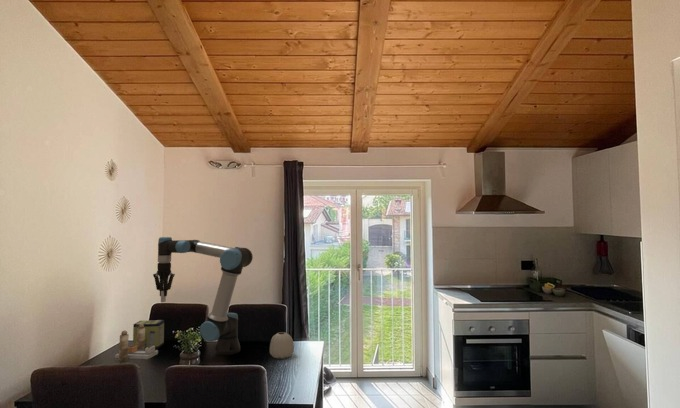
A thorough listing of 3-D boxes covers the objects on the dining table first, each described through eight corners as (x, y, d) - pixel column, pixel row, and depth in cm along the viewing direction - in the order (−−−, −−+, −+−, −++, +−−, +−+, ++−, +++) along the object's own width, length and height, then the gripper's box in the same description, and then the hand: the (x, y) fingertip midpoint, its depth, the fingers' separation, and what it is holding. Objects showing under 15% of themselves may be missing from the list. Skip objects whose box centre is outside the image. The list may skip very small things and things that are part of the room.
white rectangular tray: (158, 353, 230) (158, 349, 230) (148, 359, 220) (148, 354, 220) (126, 352, 232) (126, 348, 232) (115, 358, 222) (115, 353, 222)
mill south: (146, 350, 236) (146, 323, 237) (141, 352, 232) (142, 324, 233) (139, 350, 237) (140, 323, 238) (134, 352, 232) (135, 324, 234)
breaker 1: (137, 350, 229) (137, 344, 229) (132, 353, 224) (132, 346, 224) (132, 350, 229) (132, 343, 229) (127, 353, 224) (127, 346, 224)
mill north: (129, 359, 220) (130, 329, 222) (124, 361, 216) (125, 331, 217) (122, 358, 221) (123, 329, 222) (117, 361, 216) (118, 331, 218)
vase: (281, 351, 233) (281, 329, 234) (298, 355, 225) (298, 332, 226) (264, 357, 222) (264, 334, 223) (281, 362, 214) (282, 337, 215)
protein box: (138, 345, 249) (139, 320, 250) (164, 344, 250) (164, 319, 252) (132, 349, 238) (132, 324, 239) (158, 348, 240) (159, 323, 241)
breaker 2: (154, 351, 228) (155, 344, 228) (150, 353, 223) (150, 346, 223) (150, 350, 228) (150, 344, 228) (145, 353, 223) (145, 346, 223)
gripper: (177, 262, 238) (176, 300, 236) (157, 261, 239) (156, 300, 238) (171, 263, 231) (170, 303, 229) (150, 262, 232) (149, 302, 230)
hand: (163, 301), depth 233 cm, fingers closed
